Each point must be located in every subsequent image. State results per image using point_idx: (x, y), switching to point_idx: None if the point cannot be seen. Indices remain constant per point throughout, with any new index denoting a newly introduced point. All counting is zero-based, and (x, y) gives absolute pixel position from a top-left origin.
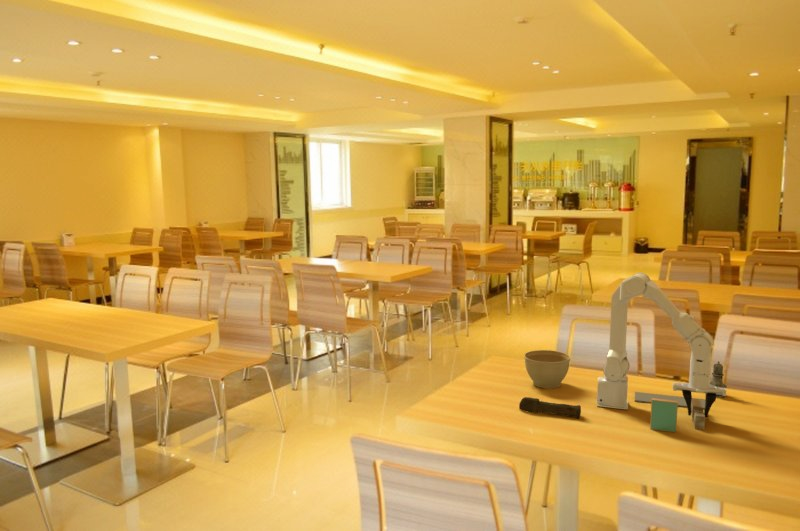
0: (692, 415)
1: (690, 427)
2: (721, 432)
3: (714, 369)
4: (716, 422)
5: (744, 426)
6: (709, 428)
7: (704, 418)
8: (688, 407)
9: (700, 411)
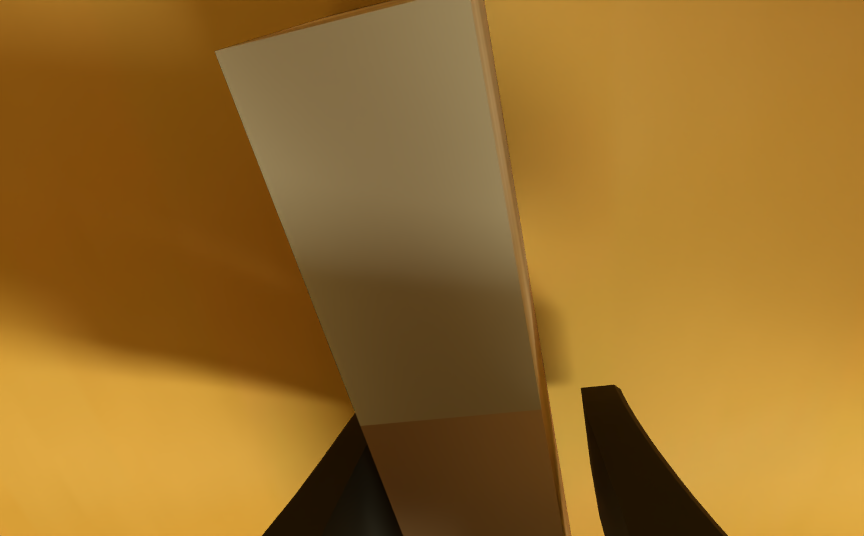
0: (557, 455)
1: (561, 13)
2: (88, 64)
3: None
4: (274, 399)
5: (13, 409)
6: None
7: (247, 42)
8: (667, 486)
9: (409, 388)
